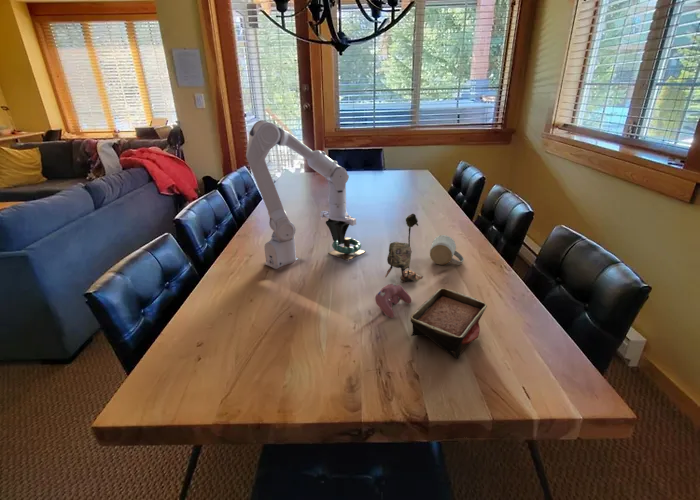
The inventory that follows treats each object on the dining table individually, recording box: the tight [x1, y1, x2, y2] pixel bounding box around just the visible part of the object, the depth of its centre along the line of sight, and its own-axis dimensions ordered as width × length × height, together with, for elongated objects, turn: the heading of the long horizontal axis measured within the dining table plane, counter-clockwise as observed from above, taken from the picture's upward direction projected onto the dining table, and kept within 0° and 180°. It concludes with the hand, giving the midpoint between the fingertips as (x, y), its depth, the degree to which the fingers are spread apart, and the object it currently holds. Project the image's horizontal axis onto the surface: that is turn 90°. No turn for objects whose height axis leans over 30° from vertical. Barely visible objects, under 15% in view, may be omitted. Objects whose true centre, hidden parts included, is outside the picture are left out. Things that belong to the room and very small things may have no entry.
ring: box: [331, 237, 362, 254], centre depth 126 cm, size 10×10×2 cm
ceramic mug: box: [429, 234, 465, 266], centre depth 120 cm, size 11×8×8 cm
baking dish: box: [410, 287, 488, 360], centre depth 84 cm, size 14×18×10 cm
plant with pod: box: [385, 212, 424, 284], centre depth 106 cm, size 8×11×20 cm
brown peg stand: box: [328, 236, 366, 261], centre depth 126 cm, size 9×9×6 cm
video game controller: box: [374, 282, 413, 319], centre depth 96 cm, size 10×5×7 cm, turn 141°
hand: (338, 240), depth 128 cm, fingers closed on ring, 2 cm apart
